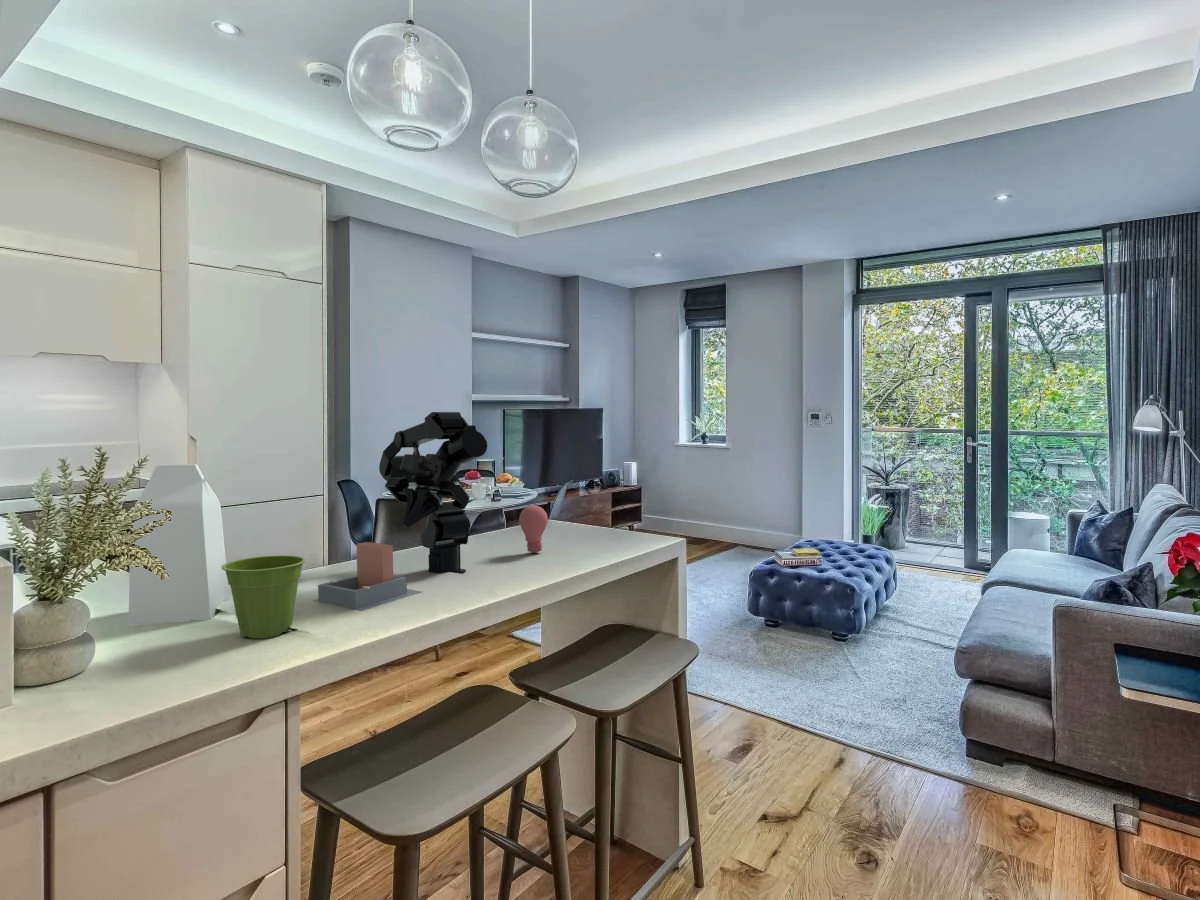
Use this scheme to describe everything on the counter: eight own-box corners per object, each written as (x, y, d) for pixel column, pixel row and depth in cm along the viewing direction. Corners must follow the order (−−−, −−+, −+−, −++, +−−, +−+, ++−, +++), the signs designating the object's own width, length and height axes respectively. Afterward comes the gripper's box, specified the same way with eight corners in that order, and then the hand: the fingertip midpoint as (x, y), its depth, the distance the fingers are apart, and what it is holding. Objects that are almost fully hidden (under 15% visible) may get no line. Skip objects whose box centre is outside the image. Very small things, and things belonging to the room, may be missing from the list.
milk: (128, 625, 107) (122, 467, 106) (155, 606, 118) (150, 463, 117) (210, 619, 110) (205, 466, 109) (229, 601, 121) (225, 461, 120)
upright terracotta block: (371, 587, 125) (370, 541, 125) (397, 592, 122) (396, 544, 121) (357, 591, 122) (356, 544, 122) (383, 596, 119) (382, 547, 118)
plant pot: (320, 630, 104) (319, 560, 103) (240, 650, 95) (238, 574, 94) (289, 616, 112) (287, 551, 111) (212, 633, 103) (210, 562, 102)
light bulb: (517, 551, 165) (516, 504, 165) (544, 549, 167) (544, 503, 167) (522, 556, 159) (521, 507, 158) (550, 554, 161) (550, 506, 160)
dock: (375, 588, 130) (374, 567, 130) (422, 596, 123) (422, 574, 123) (313, 605, 118) (312, 582, 117) (361, 616, 111) (361, 592, 111)
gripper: (391, 439, 136) (348, 497, 127) (458, 440, 127) (417, 503, 118) (419, 473, 143) (380, 531, 134) (485, 477, 134) (448, 539, 125)
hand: (405, 525), depth 128 cm, fingers closed
